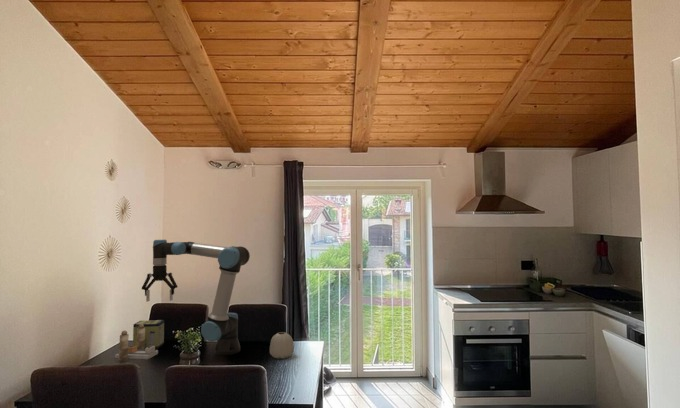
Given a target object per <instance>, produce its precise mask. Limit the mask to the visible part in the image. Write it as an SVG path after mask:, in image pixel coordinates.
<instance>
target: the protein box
mask: <svg viewBox="0 0 680 408" xmlns="http://www.w3.org/2000/svg"><path fill="white" fill-rule="evenodd" d="M140 324H143V325H144V327H145V348H147V347H148V346H150V345H153V346H155V350H158V349H160V348H161V347H162V346H163V345H164V344H165V340H164V339H165V320H164V319H157V320H152V319H151V320H139V321H137V322H135V323H133V324H132V325H133V328H132V332H133V333H132V345H133V344H135V345H137V328H139V325H140Z"/></svg>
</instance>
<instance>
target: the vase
mask: <svg viewBox="0 0 680 408" xmlns="http://www.w3.org/2000/svg"><path fill="white" fill-rule="evenodd" d="M269 344H270V345H269V354H270V356H272V358H274V359H278V360H279V359H281V360H283V359H288V358H290V357H291V356H292V354H293V353H294V352H295V351H294V350H295V347H294V346H295V345H294V340H293V338H292V336H291V335H290V334H289V333H287V332H284V331H281V332H277V333H276V334H274V335H273V336H272V338H271V340H270V342H269Z"/></svg>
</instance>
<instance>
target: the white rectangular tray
mask: <svg viewBox="0 0 680 408" xmlns="http://www.w3.org/2000/svg"><path fill="white" fill-rule="evenodd" d="M158 354H159V350H158V349H155V351H154V352H152V353H145V350H137V351H136V352H133V353H128V359H130V360H131V359H132V360H150V359H151V358H153V357H155V356H157V355H158ZM114 358H115V359H119V352H117V353H116V354H115V355H114Z"/></svg>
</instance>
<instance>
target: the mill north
mask: <svg viewBox="0 0 680 408" xmlns="http://www.w3.org/2000/svg"><path fill="white" fill-rule="evenodd" d="M129 335H130V334H128V331H127V330H123V331H121V333H120V335H119V346H118V347H119V348H118V353H119V358H118V362H120V363H122V362H126V361H128V347H129Z"/></svg>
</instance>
